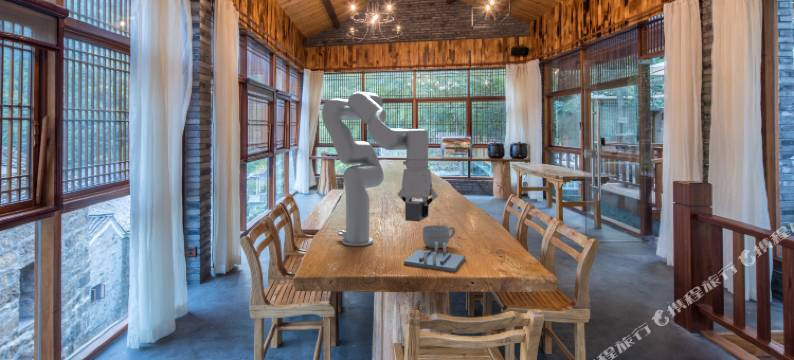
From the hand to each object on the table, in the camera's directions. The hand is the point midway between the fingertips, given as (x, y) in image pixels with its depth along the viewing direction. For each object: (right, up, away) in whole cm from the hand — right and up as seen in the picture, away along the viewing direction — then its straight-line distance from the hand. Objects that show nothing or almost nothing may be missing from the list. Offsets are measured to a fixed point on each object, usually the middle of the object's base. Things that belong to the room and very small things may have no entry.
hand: (417, 215), depth 145 cm
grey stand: (+6, -16, 0) cm, 18 cm away
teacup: (+10, -14, +19) cm, 26 cm away
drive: (0, -1, 0) cm, 1 cm away
